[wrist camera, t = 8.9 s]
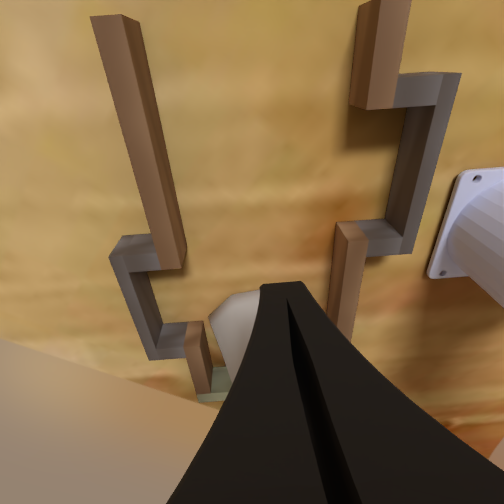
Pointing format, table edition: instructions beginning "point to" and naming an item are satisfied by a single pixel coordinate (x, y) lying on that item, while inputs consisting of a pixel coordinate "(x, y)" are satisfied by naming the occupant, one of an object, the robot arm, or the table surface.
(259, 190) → the table surface
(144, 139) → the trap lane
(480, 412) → the table surface
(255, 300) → the flask
